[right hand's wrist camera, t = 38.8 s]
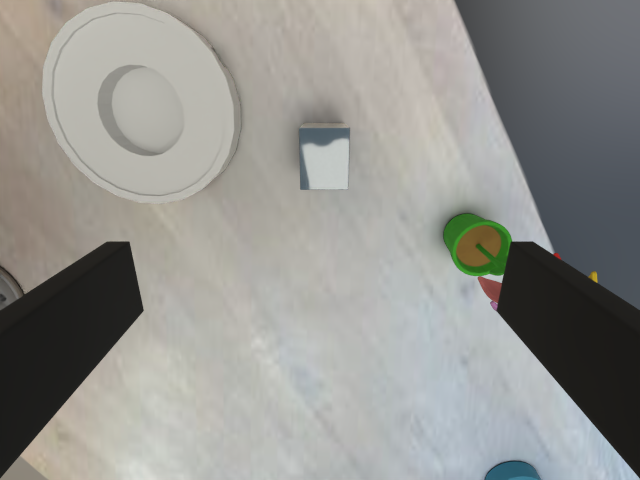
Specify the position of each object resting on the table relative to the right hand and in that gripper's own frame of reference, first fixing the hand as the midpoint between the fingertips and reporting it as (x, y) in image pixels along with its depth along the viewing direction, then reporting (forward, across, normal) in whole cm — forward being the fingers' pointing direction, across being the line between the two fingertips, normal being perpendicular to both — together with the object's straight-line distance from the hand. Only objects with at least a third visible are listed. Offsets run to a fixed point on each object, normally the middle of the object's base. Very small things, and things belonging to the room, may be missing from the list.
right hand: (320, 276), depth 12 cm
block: (+39, 0, 0) cm, 39 cm away
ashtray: (+39, +22, -5) cm, 45 cm away
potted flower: (+39, -21, +12) cm, 46 cm away
